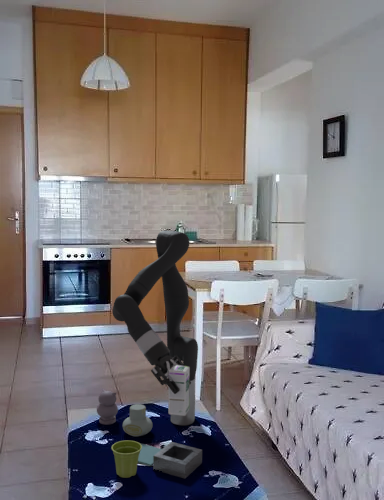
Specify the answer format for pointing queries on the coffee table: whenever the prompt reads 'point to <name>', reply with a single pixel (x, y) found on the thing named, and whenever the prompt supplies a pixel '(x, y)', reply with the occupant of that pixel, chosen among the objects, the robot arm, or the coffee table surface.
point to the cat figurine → (107, 407)
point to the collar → (177, 459)
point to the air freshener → (137, 421)
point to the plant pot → (126, 457)
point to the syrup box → (180, 400)
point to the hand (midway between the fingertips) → (183, 388)
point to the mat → (147, 454)
